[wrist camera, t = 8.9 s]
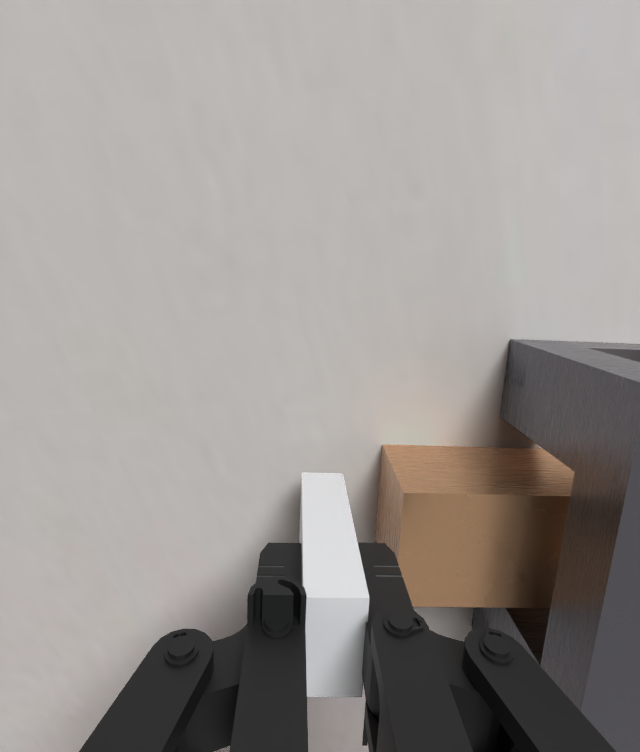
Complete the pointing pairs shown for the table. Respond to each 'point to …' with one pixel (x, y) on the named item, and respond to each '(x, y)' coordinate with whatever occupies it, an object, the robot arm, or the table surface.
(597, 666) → the grey open frame bracket
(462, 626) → the table surface
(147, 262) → the table surface
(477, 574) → the block
